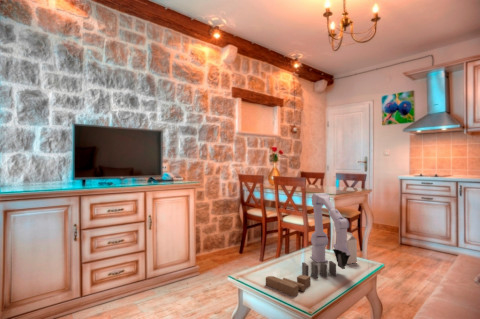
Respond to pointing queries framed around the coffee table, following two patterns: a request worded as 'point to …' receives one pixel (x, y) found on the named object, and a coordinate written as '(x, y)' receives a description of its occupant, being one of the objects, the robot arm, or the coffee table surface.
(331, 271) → the domino
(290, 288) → the wooden block set
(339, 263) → the domino
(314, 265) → the domino
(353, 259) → the milk carton
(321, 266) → the domino
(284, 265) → the coffee table surface
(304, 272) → the domino
